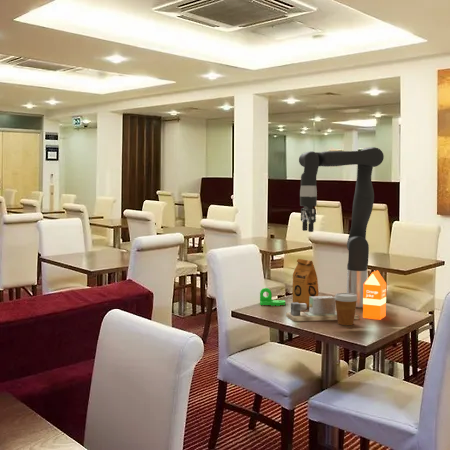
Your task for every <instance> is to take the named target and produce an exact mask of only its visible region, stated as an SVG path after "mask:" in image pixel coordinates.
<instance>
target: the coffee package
mask: <svg viewBox="0 0 450 450" xmlns="http://www.w3.org/2000/svg"><path fill="white" fill-rule="evenodd" d="M296 262H297V264H296V267H295V268H294V271H293V272H292V302H298V303H305V304H307V308H309V296H319V292H320V291H319V281H318V275H317V272H316V268H315V266H314V265H315V264H314V262H313V260H307V259H304V258H303V259H302V258H297V260H296Z"/></svg>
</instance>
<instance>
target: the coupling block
mask: <svg viewBox="0 0 450 450" xmlns="http://www.w3.org/2000/svg"><path fill="white" fill-rule="evenodd" d="M334 297H335V296H332V295H318V296H309V307H308V308H309V309H308V312H309V313H311V314H312V315H325V314H335V311H336V302H335V298H334Z"/></svg>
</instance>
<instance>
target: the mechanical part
mask: <svg viewBox="0 0 450 450" xmlns="http://www.w3.org/2000/svg"><path fill="white" fill-rule="evenodd" d="M264 293H268V295H267V296H264ZM272 296H273V294H272V291H271V289H270V288H268V287H264V288H262V289H260V292H259V305H271V306H270V307H272V306H274V307H281V306H280V305H284V306H286V300H281V299H280V300H278V299H276V300H275V299H273V298H272ZM275 305H276V306H275Z"/></svg>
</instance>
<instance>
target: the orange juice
mask: <svg viewBox="0 0 450 450" xmlns="http://www.w3.org/2000/svg"><path fill="white" fill-rule="evenodd" d="M386 311H387V282H386V281H385V279H384V278H383V276H382V275H381V273H380V271H379V270H375V271H372V272H371V274H370V275H369V277H367V280H366V282H365V283H364V285H363V307H362V318H363V319H371V320H380V321H381V320H382V319H384V318H385V317H386V316H387V315H386V313H387V312H386Z"/></svg>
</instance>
